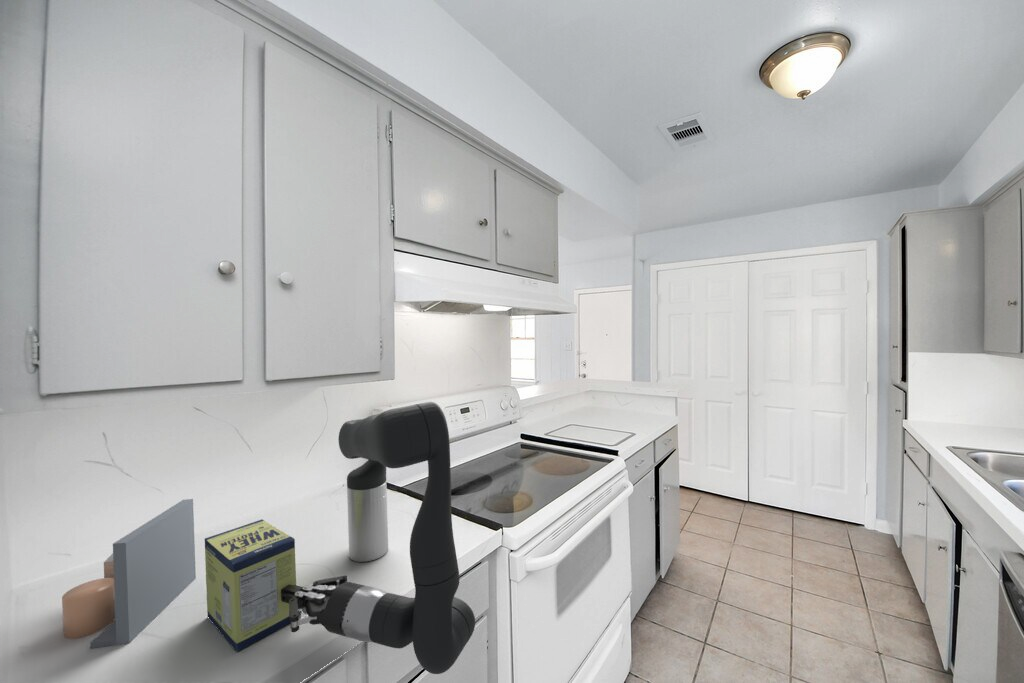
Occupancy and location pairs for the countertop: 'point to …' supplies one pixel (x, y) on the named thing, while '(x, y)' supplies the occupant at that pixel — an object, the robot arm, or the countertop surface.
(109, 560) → the tea tin
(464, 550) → the countertop surface
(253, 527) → the protein box
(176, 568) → the display board
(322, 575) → the countertop surface
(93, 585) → the tan rounded cylinder
